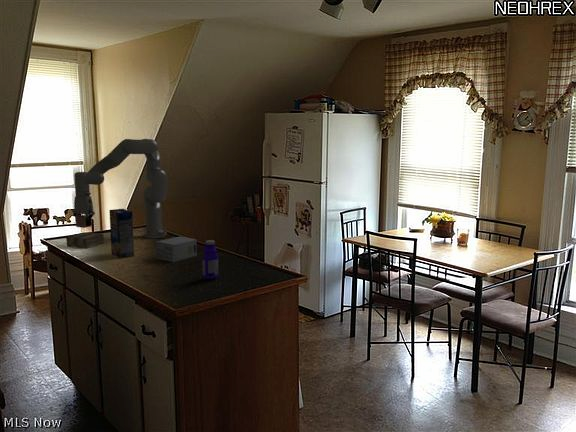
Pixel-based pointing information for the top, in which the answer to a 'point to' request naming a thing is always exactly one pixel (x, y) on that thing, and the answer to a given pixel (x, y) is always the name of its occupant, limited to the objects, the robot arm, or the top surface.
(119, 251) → the juice carton
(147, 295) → the top surface
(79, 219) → the terracotta cube
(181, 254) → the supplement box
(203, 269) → the bottle
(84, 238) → the grey flat block
